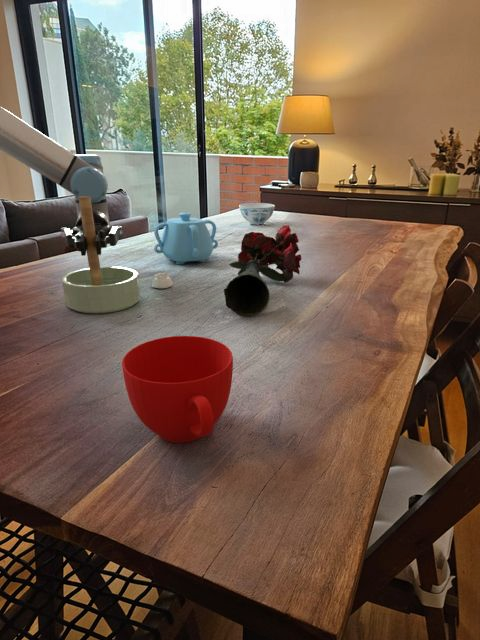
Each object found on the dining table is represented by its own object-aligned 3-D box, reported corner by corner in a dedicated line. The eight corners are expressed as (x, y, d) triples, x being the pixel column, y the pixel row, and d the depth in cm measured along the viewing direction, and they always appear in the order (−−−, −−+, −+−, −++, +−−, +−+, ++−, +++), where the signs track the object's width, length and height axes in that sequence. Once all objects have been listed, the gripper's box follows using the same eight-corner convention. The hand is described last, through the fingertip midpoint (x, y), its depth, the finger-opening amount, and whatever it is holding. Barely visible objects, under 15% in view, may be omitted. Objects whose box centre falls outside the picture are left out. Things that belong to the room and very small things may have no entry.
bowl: (55, 300, 102) (50, 274, 99) (120, 287, 111) (117, 263, 109) (84, 320, 91) (79, 291, 89) (153, 303, 101) (150, 277, 98)
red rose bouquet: (253, 350, 98) (260, 291, 128) (323, 299, 92) (313, 250, 122) (203, 296, 92) (223, 248, 123) (273, 239, 86) (276, 203, 117)
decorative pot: (224, 257, 141) (223, 211, 135) (195, 269, 128) (193, 219, 122) (181, 251, 147) (178, 207, 141) (149, 262, 134) (144, 214, 128)
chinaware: (276, 221, 201) (277, 203, 198) (271, 227, 188) (271, 208, 184) (243, 220, 203) (243, 202, 200) (235, 226, 190) (235, 206, 187)
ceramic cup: (151, 495, 47) (141, 413, 43) (122, 413, 61) (113, 345, 57) (264, 462, 52) (265, 386, 48) (213, 393, 66) (211, 329, 62)
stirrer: (81, 293, 98) (66, 196, 90) (104, 288, 102) (91, 194, 93) (91, 299, 95) (76, 198, 87) (115, 294, 98) (102, 197, 90)
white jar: (150, 284, 113) (154, 290, 109) (149, 273, 112) (153, 278, 108) (169, 282, 115) (175, 288, 111) (169, 271, 114) (174, 276, 110)
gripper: (127, 241, 113) (132, 264, 93) (61, 244, 109) (51, 269, 88) (124, 210, 110) (128, 227, 89) (55, 211, 105) (44, 230, 85)
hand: (90, 248), depth 89 cm, fingers closed on stirrer, 2 cm apart
